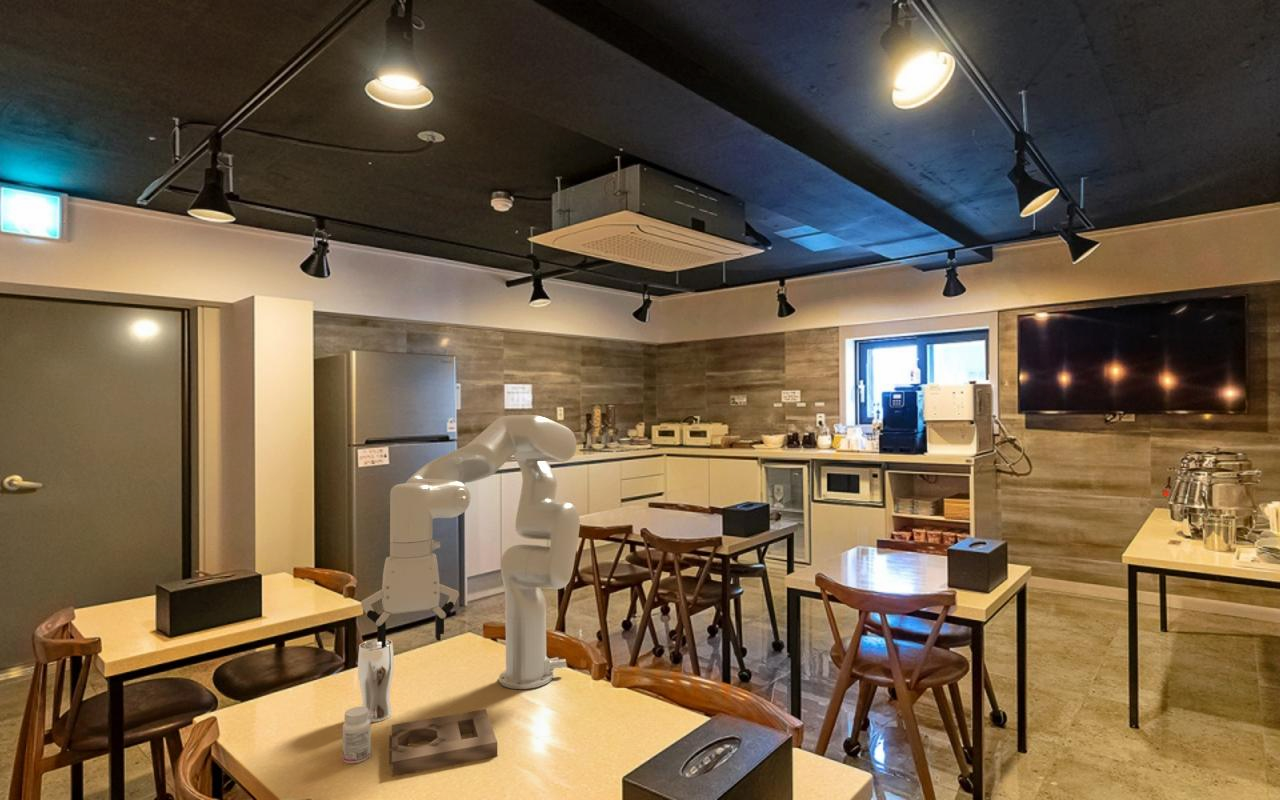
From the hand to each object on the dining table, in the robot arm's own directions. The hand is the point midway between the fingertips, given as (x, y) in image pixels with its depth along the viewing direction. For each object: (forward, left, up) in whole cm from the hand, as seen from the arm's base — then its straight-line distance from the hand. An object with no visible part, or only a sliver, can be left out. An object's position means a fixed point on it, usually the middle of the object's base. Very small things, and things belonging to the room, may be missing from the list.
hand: (411, 641), depth 122 cm
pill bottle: (+9, -2, -21) cm, 23 cm away
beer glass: (+6, -19, -21) cm, 29 cm away
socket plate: (-6, 0, -20) cm, 21 cm away
